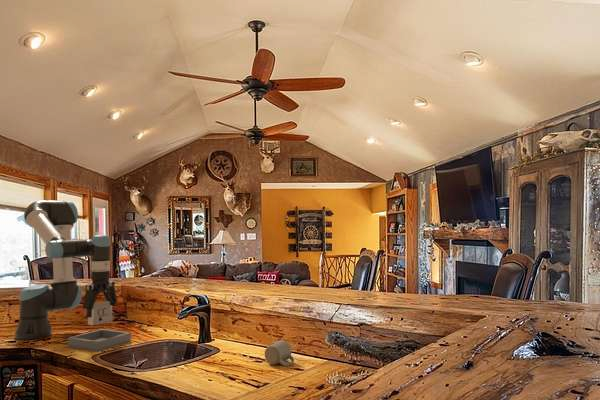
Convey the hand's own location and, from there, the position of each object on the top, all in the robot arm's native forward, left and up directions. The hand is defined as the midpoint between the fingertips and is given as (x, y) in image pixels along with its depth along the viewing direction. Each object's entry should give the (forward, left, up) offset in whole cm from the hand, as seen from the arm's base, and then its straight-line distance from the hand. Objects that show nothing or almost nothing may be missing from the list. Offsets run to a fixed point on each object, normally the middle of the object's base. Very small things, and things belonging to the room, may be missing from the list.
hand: (100, 322), depth 206 cm
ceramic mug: (+84, +9, -10) cm, 85 cm away
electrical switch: (0, 0, -1) cm, 1 cm away
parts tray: (0, 0, -10) cm, 10 cm away
